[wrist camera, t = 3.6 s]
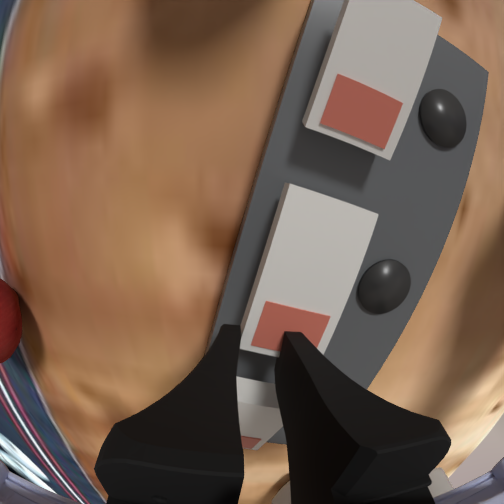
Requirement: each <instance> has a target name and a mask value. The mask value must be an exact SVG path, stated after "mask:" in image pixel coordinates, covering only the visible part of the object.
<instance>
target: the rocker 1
mask: <svg viewBox="0 0 504 504" xmlns="http://www.w3.org/2000/svg"><path fill="white" fill-rule="evenodd" d="M236 380H237V400H238V413H239V425H240V433H241V441H242V448H245V449H252V450H258V449H259V448H260V447H261V446H262V445H263V444H264V443H266V442H267V441H268V440H269V439H270V438H271V437H272V436H273V435H274V434H275V433H276V432H277V431H279V430H280V429H281V428H282V427H283V423H282V418H281V414H280V409H279V405H278V400H277V395H276V389H275V384H272V383H267V382H261V381H256V380H251V379H246V378H242V377H237V376H236Z"/></svg>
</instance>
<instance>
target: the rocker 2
mask: <svg viewBox="0 0 504 504" xmlns="http://www.w3.org/2000/svg"><path fill="white" fill-rule="evenodd" d="M441 21H442V17H440V16H439V15H437V14H435V13H434V12H432V11H431V10H429V9H427V8H426V7H424V6H422V5H421V4H419V3H417V2H415V1H414V0H344V2H343V5H342V8H341V11H340V13H339V16H338V19H337V22H336V25H335V28H334V31H333V34H332V37H331V40H330V42H329V45H328V48H327V51H326V54H325V57H324V60H323V63H322V66H321V68H320V71H319V74H318V77H317V80H316V83H315V86H314V89H313V92H312V94H311V97H310V100H309V103H308V106H307V109H306V112H305V114H304V117H303V120H302V122H303V124H304V126H305V127H306V128H309V129H312V130H315V131H318V132H320V133H323V134H326V135H329V136H331V137H334V138H337V139H339V140H342V141H345V142H347V143H350V144H352V145H355V146H357V147H360V148H362V149H364V150H367V151H369V152H371V153H374V154H376V155H378V156H381V157H383V158H385V159H387V160H391V157H392V155H393V153H394V150H395V148H396V146H397V143H398V141H399V139H400V136H401V134H402V132H403V129H404V127H405V124H406V122H407V119H408V117H409V114H410V112H411V109H412V106H413V104H414V101H415V99H416V96H417V93H418V91H419V88H420V85H421V82H422V80H423V77H424V74H425V71H426V68H427V65H428V62H429V59H430V56H431V53H432V50H433V47H434V44H435V41H436V37H437V34H438V31H439V27H440V24H441Z"/></svg>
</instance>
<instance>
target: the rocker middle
mask: <svg viewBox="0 0 504 504" xmlns="http://www.w3.org/2000/svg"><path fill="white" fill-rule="evenodd" d="M378 215H379V214H377V213H374V212H371V211H369V210H366V209H363V208H361V207H358V206H355V205H352V204H350V203H347V202H344V201H341V200H338V199H335V198H332V197H330V196H327V195H324V194H321V193H318V192H315V191H312V190H309V189H306V188H302V187H299V186H296V185H293V184H290V183H285V184H284V187H283V190H282V194H281V197H280V200H279V203H278V207H277V210H276V213H275V217H274V220H273V223H272V226H271V230H270V233H269V236H268V239H267V243H266V246H265V249H264V252H263V255H262V259H261V262H260V265H259V268H258V272H257V275H256V278H255V281H254V284H253V288H252V291H251V294H250V297H249V300H248V303H247V307H246V310H245V313H244V316H243V319H242V322H241V342H240V349H243V350H247V351H252V352H256V353H261V354H266V355H270V356H275V357H279V355H280V352H281V347H282V342H283V336H284V331H291V332H302V333H303V334H304V335H305V336H306V337H307V338H308V340H309V341H310V342H311V343H312V344H313V345H314V346H315V347H316V348H317V349H318V350H319V351H320V352H321V353H322V354H323V355H324V353H325V350H326V348H327V346H328V344H329V342H330V339H331V337H332V335H333V333H334V331H335V328H336V326H337V324H338V321H339V319H340V317H341V314H342V312H343V310H344V307H345V305H346V303H347V300H348V298H349V295H350V293H351V290H352V288H353V285H354V283H355V280H356V277H357V275H358V272H359V270H360V267H361V264H362V262H363V259H364V256H365V253H366V251H367V248H368V245H369V242H370V239H371V236H372V233H373V230H374V228H375V224H376V221H377V218H378Z"/></svg>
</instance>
